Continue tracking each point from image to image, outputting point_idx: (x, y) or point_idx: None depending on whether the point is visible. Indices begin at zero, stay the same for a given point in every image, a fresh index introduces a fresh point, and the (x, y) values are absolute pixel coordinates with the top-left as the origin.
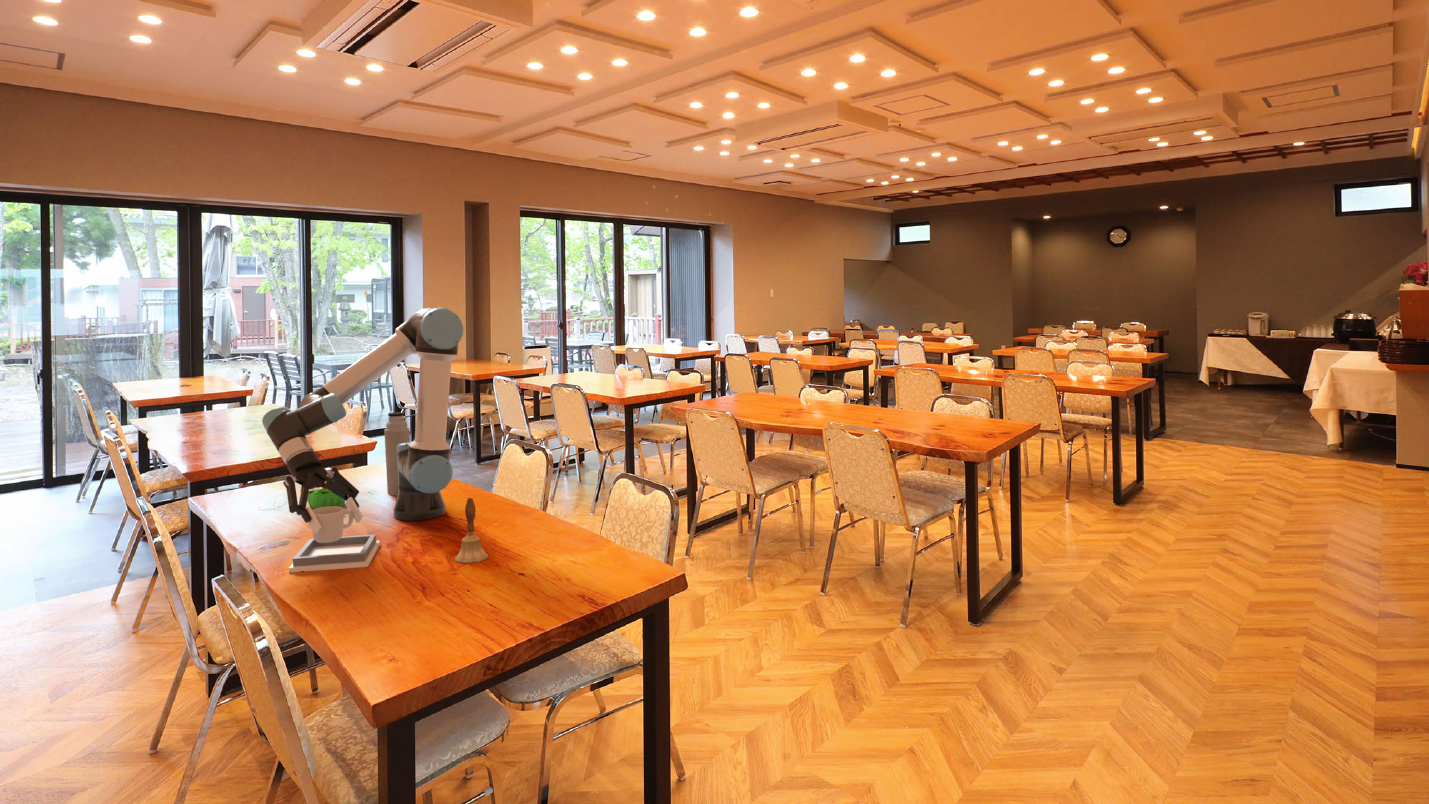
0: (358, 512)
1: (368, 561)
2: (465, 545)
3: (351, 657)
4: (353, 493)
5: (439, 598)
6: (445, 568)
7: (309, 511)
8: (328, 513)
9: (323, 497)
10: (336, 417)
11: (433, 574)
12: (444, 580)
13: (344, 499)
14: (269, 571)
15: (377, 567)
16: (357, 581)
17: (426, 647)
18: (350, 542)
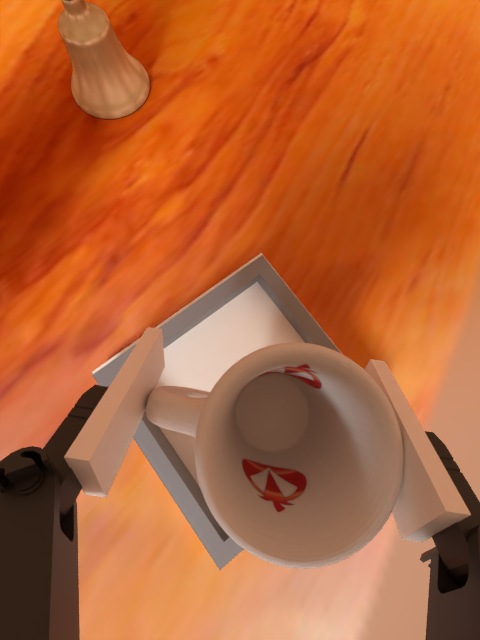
0: (148, 347)
1: (250, 261)
2: (115, 38)
3: None
4: (22, 462)
5: (329, 13)
6: (193, 95)
7: (443, 470)
8: (240, 488)
9: None
10: None
11: (234, 95)
12: (252, 56)
13: (76, 531)
14: None
15: (252, 234)
16: (340, 207)
17: None
18: (156, 429)
